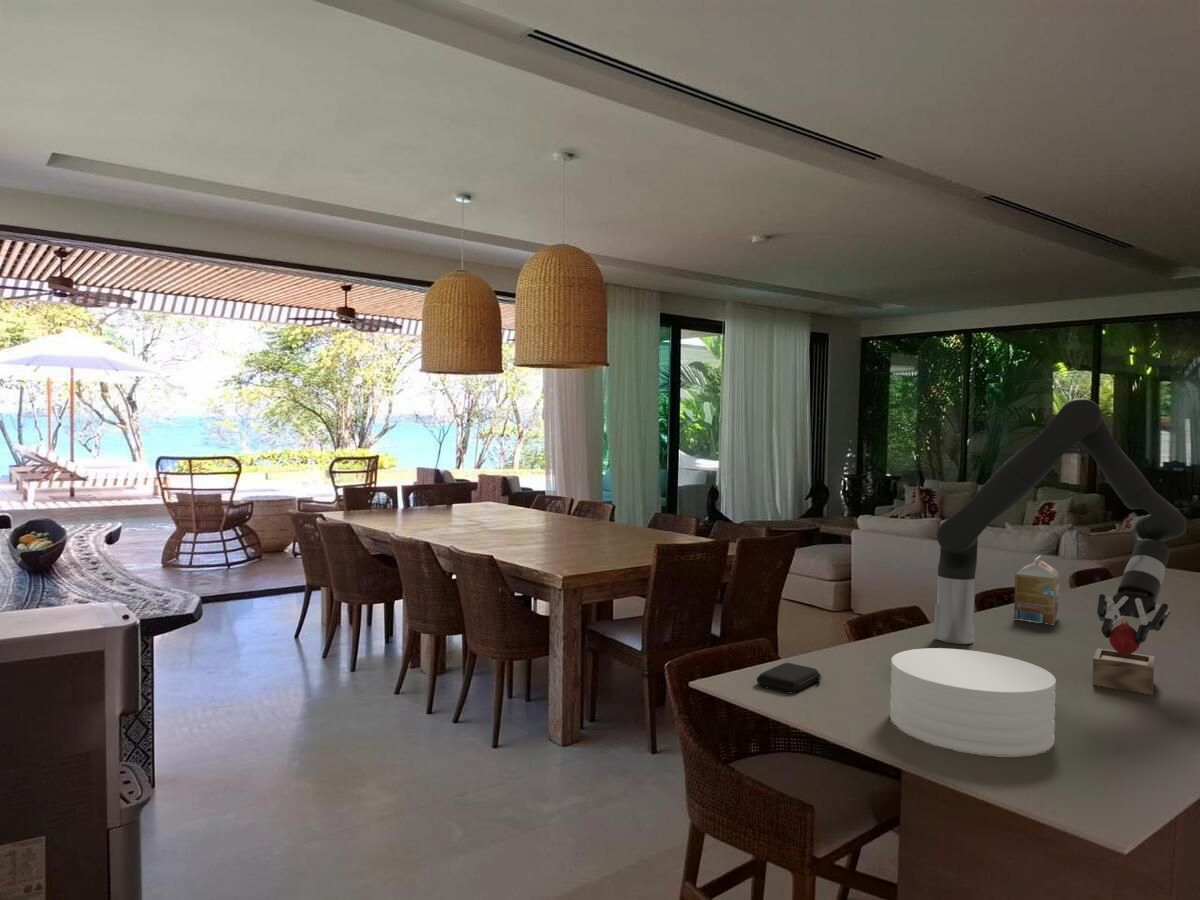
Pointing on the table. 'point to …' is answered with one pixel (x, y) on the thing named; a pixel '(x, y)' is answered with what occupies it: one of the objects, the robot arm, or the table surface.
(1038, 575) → the milk carton
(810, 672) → the carrying case or bag
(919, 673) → the plate stack
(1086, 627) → the table surface
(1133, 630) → the onion
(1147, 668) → the wooden tray
